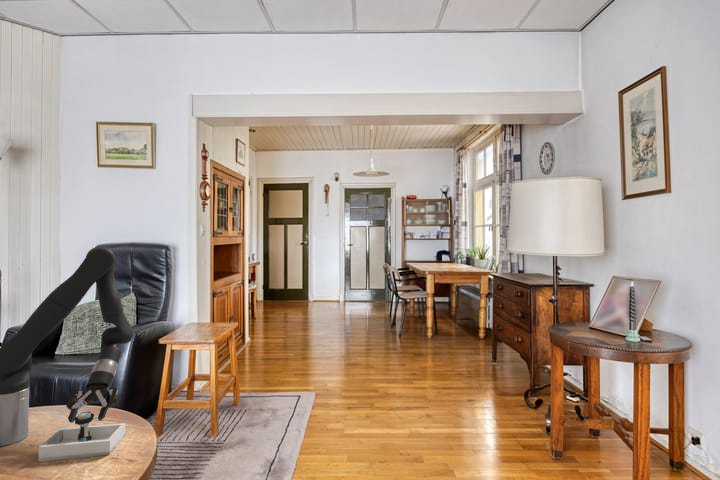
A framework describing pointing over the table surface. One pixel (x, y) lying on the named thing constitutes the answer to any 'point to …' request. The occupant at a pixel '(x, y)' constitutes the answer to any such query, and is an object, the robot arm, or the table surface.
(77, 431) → the tray
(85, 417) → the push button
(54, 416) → the table surface
